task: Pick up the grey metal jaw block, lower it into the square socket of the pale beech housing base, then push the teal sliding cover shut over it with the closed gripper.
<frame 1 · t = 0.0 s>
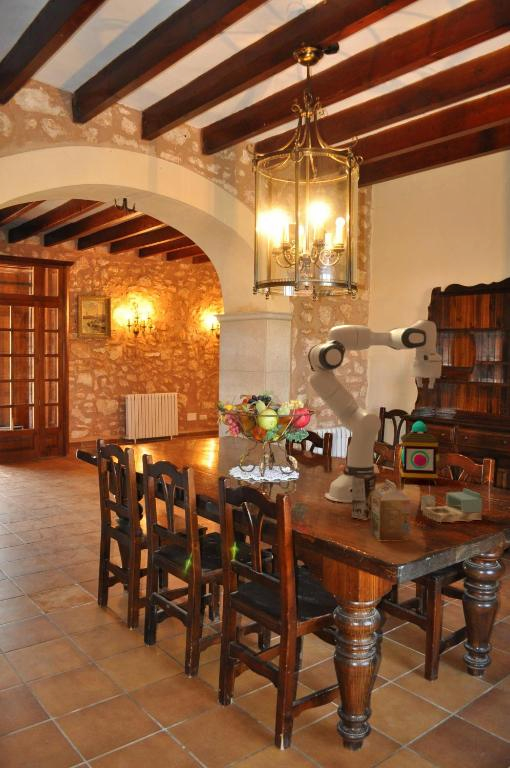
hand: (425, 387, 272), 48 cm above the table, tool pointing down, fingers open, 8 cm apart
jaw block: (427, 511, 245), on the table
coffee box: (363, 517, 236), on the table
milk carton: (389, 537, 211), on the table
housing base: (451, 517, 235), on the table
cover: (463, 499, 236), point 7 cm above the table, slide at 0.0 cm
decorative lantern: (418, 481, 302), on the table
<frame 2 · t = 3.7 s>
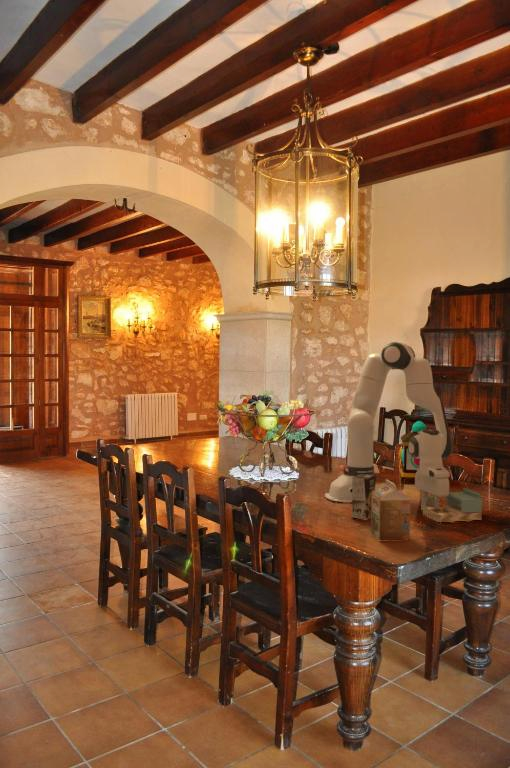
hand: (431, 504, 245), 3 cm above the table, tool pointing down, fingers open, 6 cm apart
nothing on the table moved.
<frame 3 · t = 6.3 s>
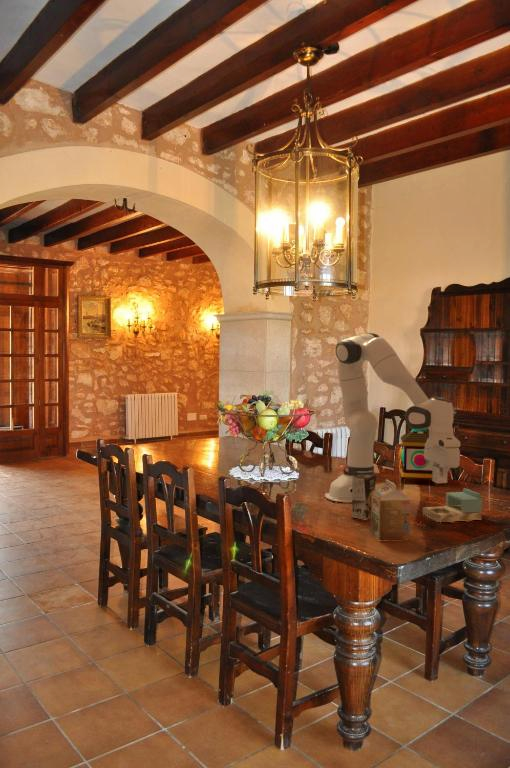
hand: (440, 475, 233), 17 cm above the table, tool pointing down, fingers closed on jaw block, 4 cm apart
jaw block: (439, 481, 233), point 14 cm above the table, touching gripper
everything else where it was.
when the fingers open (4 cm above the table, at t = 8.2 s): jaw block drops 1 cm, resting on housing base.
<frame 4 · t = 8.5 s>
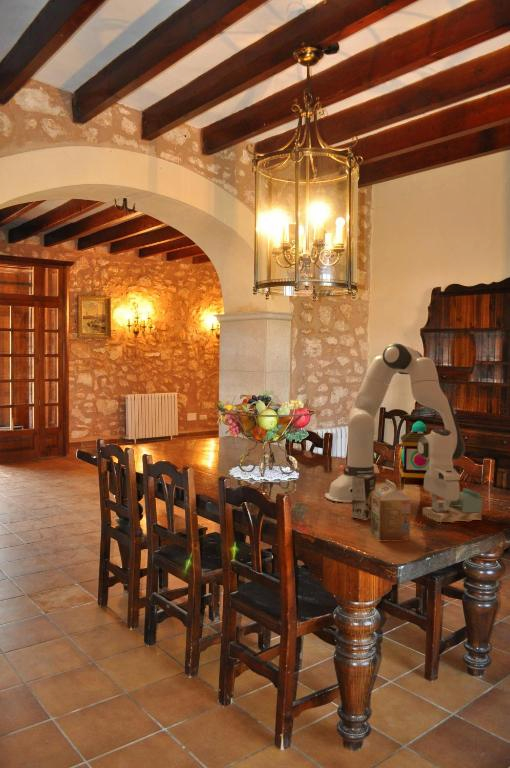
hand: (440, 507, 234), 4 cm above the table, tool pointing down, fingers open, 6 cm apart
jaw block: (439, 516, 234), point 1 cm above the table, touching housing base
everything else where it was.
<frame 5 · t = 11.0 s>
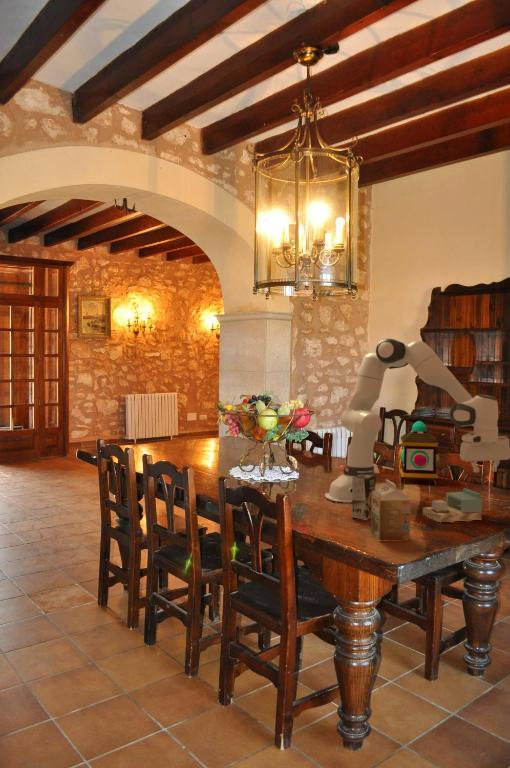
hand: (485, 471, 238), 17 cm above the table, tool pointing down, fingers open, 6 cm apart
nothing on the table moved.
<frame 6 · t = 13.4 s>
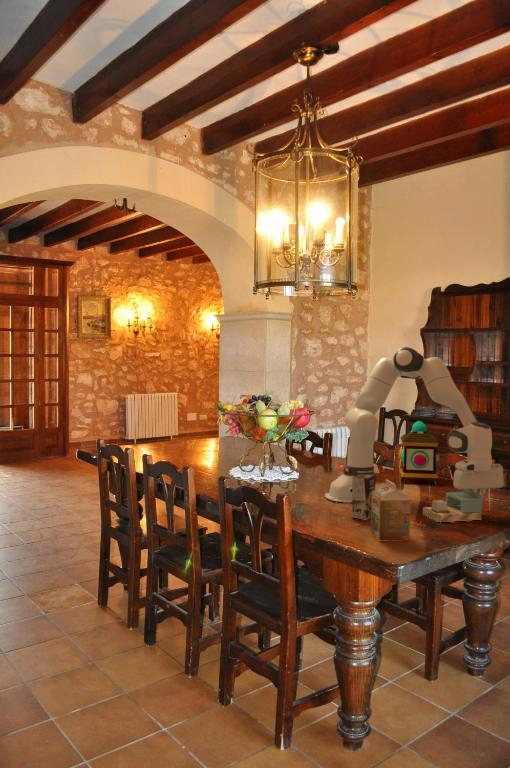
hand: (478, 499, 238), 6 cm above the table, tool pointing down, fingers closed
cover: (463, 499, 236), point 7 cm above the table, slide at 0.1 cm, touching gripper
everything else where it was.
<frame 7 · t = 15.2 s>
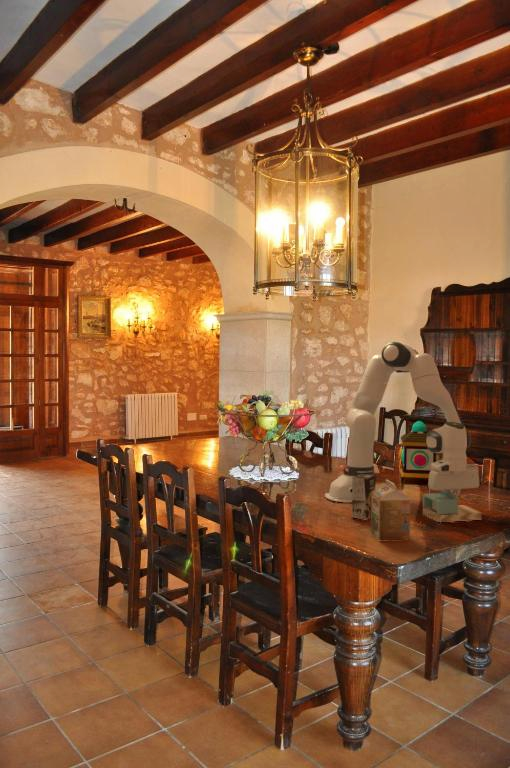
hand: (453, 500, 235), 7 cm above the table, tool pointing down, fingers closed
cover: (440, 501, 234), point 7 cm above the table, slide at 10.1 cm, touching gripper
everything else where it was.
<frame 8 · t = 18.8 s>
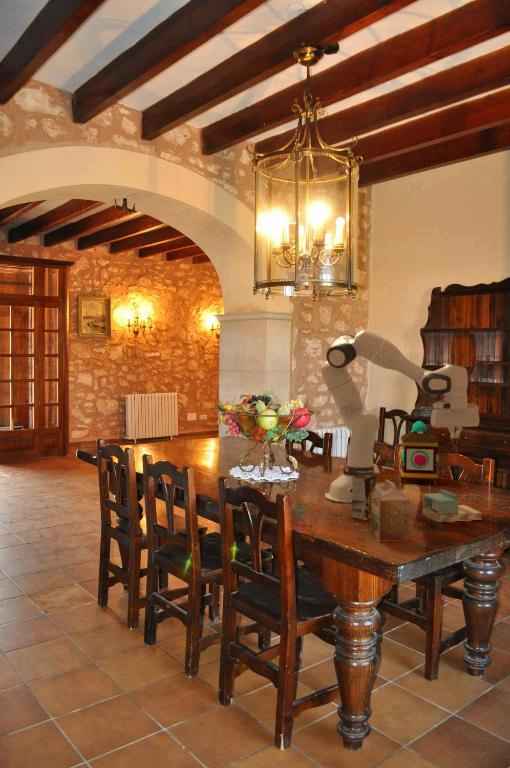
hand: (454, 437, 247), 29 cm above the table, tool pointing down, fingers closed
cover: (440, 501, 234), point 7 cm above the table, slide at 10.0 cm
everything else where it was.
at the end: jaw block 0.3 cm from the target spot on the housing base, point 0.6 cm above the housing base's base; cover slide at 10.0 cm; jaw block tilted 0° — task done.
